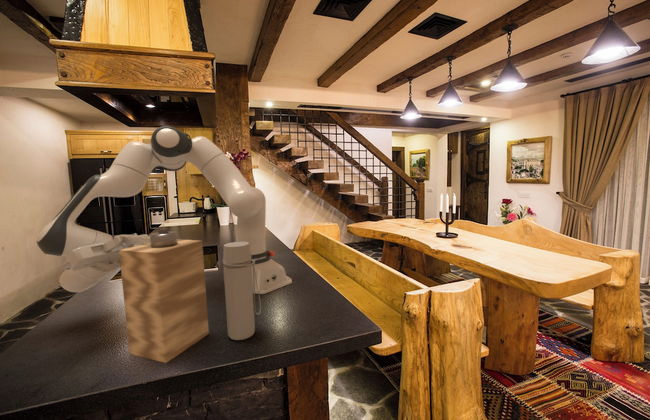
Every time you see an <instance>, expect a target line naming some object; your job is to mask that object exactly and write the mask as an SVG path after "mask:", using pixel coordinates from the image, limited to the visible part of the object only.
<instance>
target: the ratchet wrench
mask: <svg viewBox="0 0 650 420" xmlns="http://www.w3.org/2000/svg"><path fill="white" fill-rule="evenodd" d="M140 235H141V234H140ZM140 235H138V234H137V235H130V234H119V235H118V234H117V235H113V238H114V239H115V238H116V237H120V236H123V239H124V240H125V242H124V243H125V244H138V245H151V247H152V248H164V247H171V246H175V245H177V244H178V240H177V239H178V231H176V230H175V231H171V230H170V231H169V228H167V227H162V228H158V229H157V232H152V233H150V234H149V235H148V236H140Z"/></svg>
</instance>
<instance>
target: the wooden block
mask: <svg viewBox="0 0 650 420" xmlns="http://www.w3.org/2000/svg"><path fill="white" fill-rule="evenodd" d="M177 240H178V244H177V245H175V246H171V247H164V248H152V247H151V245H139V246H135V247H131V248H126V249H122V250H119V255H120V264H121V267H120V273H121V283H122V293H123V303H124V313H125V322H126V331H127V333H126V334H127V342H128V351H129V355H133V356H136V357H141V358H144V359H148V360H153V361H156V362H160V363H164V364H167V363H168V362H170V361H171V360H173V359H174V358H176V357H177V356H178V355H180V354H182V353H183V352H184V351H186V350H187V349H189V348H190V347H191V346H194V345H195V344H196V343H198V342H199V341H201V340H202V339H203V338H205V337H206V336H208V335H209V334H210V330H209V318H208V317H209V316H208V304H207V303H208V302H207V301H208V300H207V290H206V286H207V285H206V275H205V274H206V273H205V262H204V261H205V259H204V248H203V247H204V245H203V240H201V239H200V240H198V239H197V240H195V239H194V240H193V239H178V238H177Z"/></svg>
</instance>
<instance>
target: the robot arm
mask: <svg viewBox="0 0 650 420" xmlns="http://www.w3.org/2000/svg"><path fill="white" fill-rule="evenodd" d="M187 163H189V164H192V165H193V166H195V168H197V170H198V171H199V172H200V173H201V174H202V175H203V176H204V178H205V179H206V180H207V181H208V182H209V183H210V184H211V185H212V187H214V188H215V190H216V191H217V192H218V194H219V195H220V197H221V198H222V200H223V201H224V203H225V204H226V205H227V206H228V208H229V210H230V213H232V215H233V216H235V217H237V218H236V228H235V242H248V243H249V245H250V251H251V260H255V266H254V268H255V272H254V282H253V265H251V269H252V286H253V294H254V285H255V294H256V295H258V290H259V295H264V294H267V293H270V292H273V291H276V290H279V289H281V288H283V287H285V286H288V285H290V284H293V280H292V278H291V277H289V276H287V273H286V270H285V268H284V266H283V265H282V264H280V263H278V262H276V261H275V260H273V259H271V257H273V258H274V257H275V256H276V252H275V251H272V250H267V245H266V244H267V243H266V213H267V212H266V211H267V210H266V207H267V206H266V204H267V203H266V199H267V198H266V195H265V193H263V191H262V190H261V189H259V188H257V187H254V186H251V185H250V183H249V182H248V180H246V178H245V176H243V174H242V173H241V171H240V169H239V168H238V167H237V166H236V165H235V163H233V162H232V160H231V159H230V158H229V157H228V156H227V155H226V154H225V153H224V152H223V150H222V149H220V147H219V146H217V145H216V144H215V143H214V142H213V141H211V140H210V139H209V138H207V137H205V136H200V135H198V136H195V137H193V138H192V137H191V136H190V134H188V133H186V132H184V131H181V130H180V129H178V128H176V127H173V126H170V125H162V126H159V127H157V128H155V130H154V131H153V132H152V134H151V138H150V143H144V142H142V141H137V140H132V141H129V142H127V143H126V144H125V145H124V147H122V149H120V151H119V153H118V154H117V155H116V157H115V159H114V160H113V162H112V164H111V165H110V167H109V168H108V169H107V170H106V171H105V172H104V173H102V174H94V175H93V176H91V177H89V178H88V179H87V180H86V181H85V182H84V183H83V184H82V185H81V186H80V187H79V189H78V190H77V191H76V192H75V193H74V194H73V195H72V196H71V198H70V200H69V201H68V202H66V204H65V205H64V206H63V207H62V209H61V210H60V211H59V212H58V213H57V214H56V216H55V217H53V219H52V220H51V221H50V222H49V223H47V224H45V226H44V227H43V228H42V230H41V231H40V232H39V234H38V236H37V240H36V244H37V246H38V247H39V249H40V251H41V252H42V253H43V254H44V255H49V256H50V255H52V256H57V257H65V258H66V259H65V260H66V261H65V262H64V263H63V264H62V265H61V266H60V269H61V270H64V271H63V272H62V273H61V274H60V276H59V278H58V280H59V285H60V286H61V288H63V289H64V290H66V291H68V292H71V293H82V292H85V291H87V290H89V289H91V288H93V287H94V286H95V285H97V284H98V283H99V282H101V281H102V280H103V278H106V277H107V276H109V274H111V273H113V272H115V271H117V270H118V269H121V264H120V255H119V250H122V249H126V248H131V247H135V246H139V245H138V244H125V243H124V242H125V240H124V239H123V236H120V237H116V238H115V239H114V235H111V234H108V233H106V232H102V231H99V230H96V229H93V228H89V227H85V226H83V225H79V224H76V222H75V221H76V220H77V218H78V217H79V216H80V214H81V213H82V212H83V211H84V210H85V209H86V207H87V206H88V205H89V204H90V202H91V201H92V200H94V199H96V198H99V197H108V198H109V197H111V198H130V197H134V196H136V195H138V194H139V193H141V192H142V191H143V189H144V187H145V186H146V184H147V182H148V180H149V177H150V176H151V173H152V172H153V170H154V169H156V170H159V171H167V172H176V171H177V172H178V171H180V170H182V169H183V168H184V167H185V166H186V164H187ZM129 235H138V233H136V232H135V233H132V234H129ZM140 236H149V235H148V234H146V233H145V234H140ZM250 263H252V261H251V262H250ZM255 273H256V277H255ZM256 279H257V283H256ZM257 285H258V289H257Z"/></svg>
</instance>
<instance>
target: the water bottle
mask: <svg viewBox="0 0 650 420" xmlns="http://www.w3.org/2000/svg"><path fill="white" fill-rule="evenodd" d="M222 250H223V251H222V253H223V254H222V255H223V256H222V265H223V282H224V296H225V297H224V298H225V312H226V327H227V336H228V337H229V338H230V339H231V340H233V341H243V340H244V341H245V340H246V339H249V338H251V337H252V336H254V334H255V332H256V326H255V325H256V323H255V322H256V321H255V315H261V311H262V302H261V297H260V294H259V290H258V294H257V295H258V300H259V312H257V311H256V293H255V285H254V293H253V286H252V269H251V265H253V282H254V272H255V268H254V266H255V260H251V251H250V245H249V243H248V242H236V241H233V242H227V243H225V244H224V245H223V249H222ZM251 261H252V263H250V262H251ZM255 277H256V273H255ZM256 283H257V279H256ZM257 289H258V285H257Z"/></svg>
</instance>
